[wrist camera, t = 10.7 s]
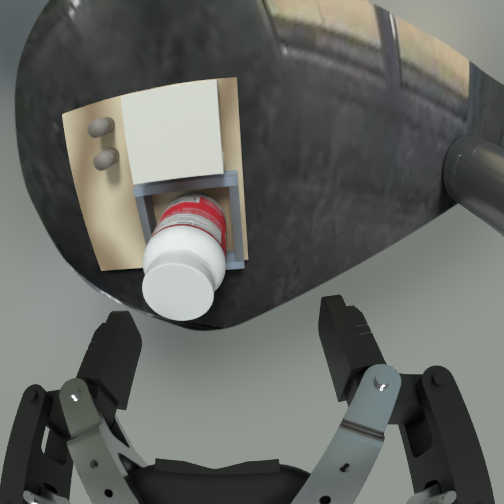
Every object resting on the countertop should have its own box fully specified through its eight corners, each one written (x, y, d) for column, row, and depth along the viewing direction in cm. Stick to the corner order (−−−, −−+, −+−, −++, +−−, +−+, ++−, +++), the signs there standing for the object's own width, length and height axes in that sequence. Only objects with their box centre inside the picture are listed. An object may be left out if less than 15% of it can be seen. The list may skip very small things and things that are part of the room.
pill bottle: (201, 258, 28) (190, 340, 19) (152, 225, 26) (116, 298, 16) (239, 216, 26) (246, 289, 17) (188, 177, 24) (161, 232, 14)
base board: (236, 78, 20) (237, 74, 17) (247, 253, 30) (249, 273, 27) (68, 113, 20) (48, 117, 17) (105, 264, 29) (93, 283, 26)
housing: (219, 84, 20) (216, 79, 16) (224, 160, 23) (223, 173, 19) (139, 96, 19) (120, 96, 15) (148, 169, 23) (133, 184, 19)
